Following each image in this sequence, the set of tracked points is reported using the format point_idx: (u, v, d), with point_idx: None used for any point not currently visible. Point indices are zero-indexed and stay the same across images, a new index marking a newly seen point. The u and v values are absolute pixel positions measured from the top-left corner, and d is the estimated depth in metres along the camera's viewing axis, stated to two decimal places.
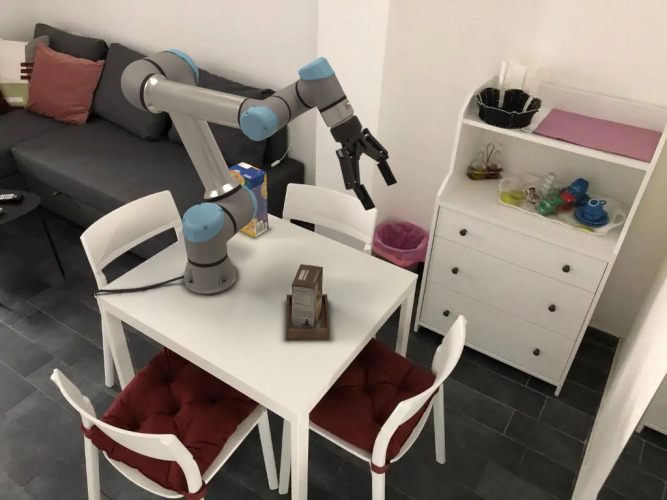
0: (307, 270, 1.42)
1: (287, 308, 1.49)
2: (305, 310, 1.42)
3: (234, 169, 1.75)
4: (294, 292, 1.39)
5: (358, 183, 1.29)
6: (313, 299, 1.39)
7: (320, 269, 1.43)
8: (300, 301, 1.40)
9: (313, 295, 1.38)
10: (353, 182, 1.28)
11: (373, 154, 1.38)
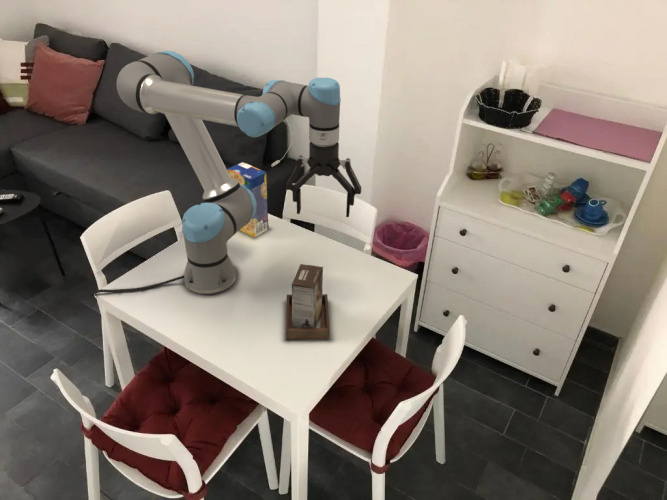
0: (307, 270, 1.42)
1: (287, 308, 1.49)
2: (305, 310, 1.42)
3: (234, 169, 1.75)
4: (294, 292, 1.39)
5: (293, 190, 1.45)
6: (313, 299, 1.39)
7: (320, 269, 1.43)
8: (300, 301, 1.40)
9: (313, 295, 1.38)
10: (288, 186, 1.44)
11: None
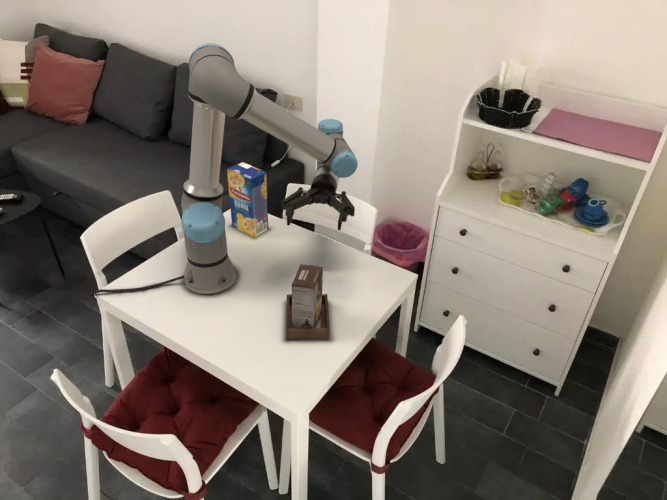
0: (307, 270, 1.42)
1: (287, 308, 1.49)
2: (305, 310, 1.42)
3: (234, 169, 1.75)
4: (294, 292, 1.39)
5: None
6: (313, 299, 1.39)
7: (320, 269, 1.43)
8: (300, 301, 1.40)
9: (313, 295, 1.38)
10: None
11: (302, 204, 1.51)
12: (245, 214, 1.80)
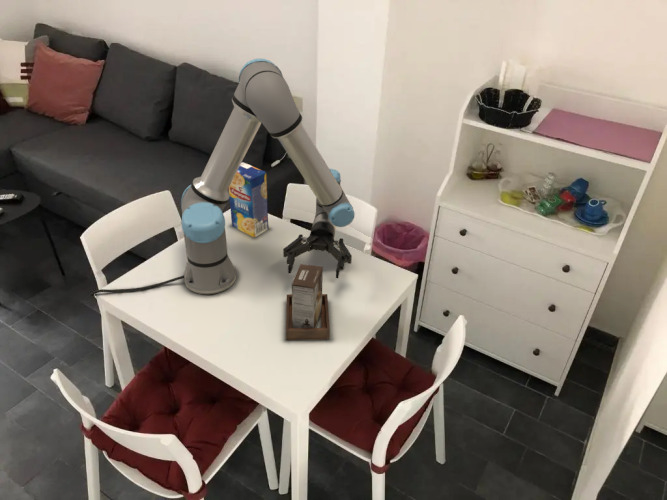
0: (307, 270, 1.42)
1: (287, 308, 1.49)
2: (305, 310, 1.42)
3: None
4: (294, 292, 1.39)
5: None
6: (313, 299, 1.39)
7: (320, 269, 1.43)
8: (300, 301, 1.40)
9: (313, 295, 1.38)
10: None
11: (302, 251, 1.61)
12: (245, 214, 1.80)
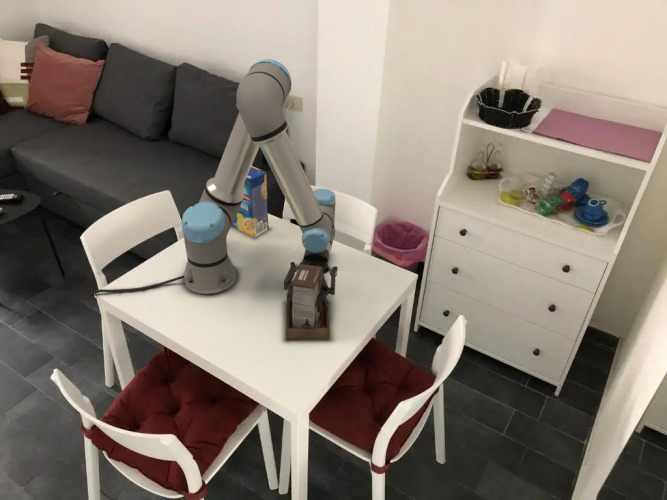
0: (307, 270, 1.42)
1: (287, 308, 1.49)
2: (305, 310, 1.42)
3: None
4: (294, 292, 1.39)
5: None
6: (313, 299, 1.39)
7: (320, 269, 1.43)
8: (300, 301, 1.40)
9: (313, 295, 1.38)
10: None
11: None
12: (245, 214, 1.80)
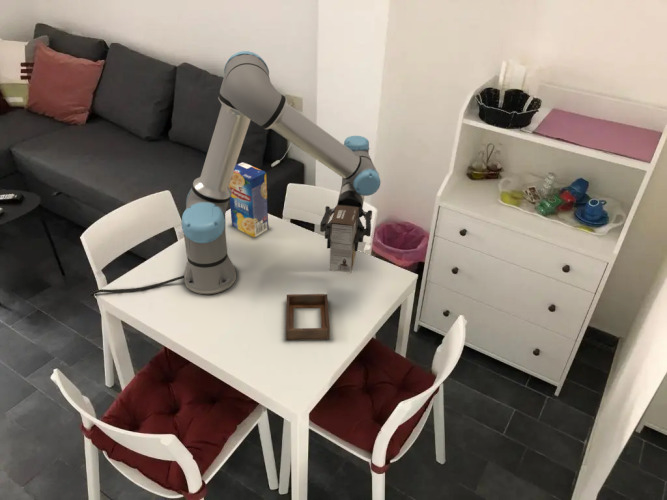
0: (344, 210, 1.44)
1: (287, 308, 1.49)
2: (343, 250, 1.44)
3: (234, 169, 1.75)
4: (332, 230, 1.41)
5: None
6: (352, 237, 1.41)
7: (356, 209, 1.44)
8: (338, 240, 1.42)
9: (352, 233, 1.40)
10: None
11: None
12: (245, 214, 1.80)
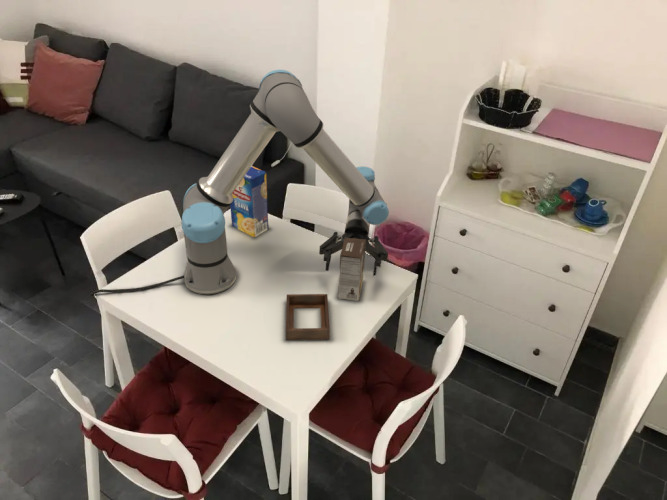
0: (352, 242, 1.54)
1: (287, 308, 1.49)
2: (351, 280, 1.54)
3: None
4: (342, 262, 1.51)
5: None
6: (359, 269, 1.51)
7: (363, 241, 1.54)
8: (347, 271, 1.52)
9: (360, 265, 1.50)
10: None
11: (337, 249, 1.62)
12: (245, 214, 1.80)
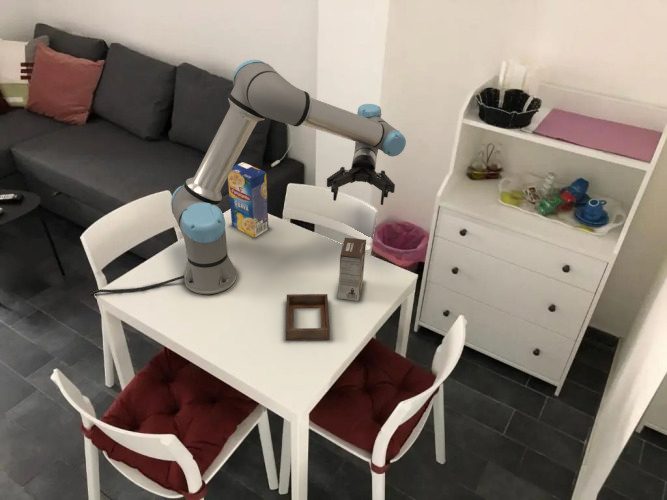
0: (352, 242, 1.54)
1: (287, 308, 1.49)
2: (351, 280, 1.54)
3: (234, 169, 1.75)
4: (342, 262, 1.51)
5: None
6: (360, 269, 1.51)
7: (364, 241, 1.54)
8: (347, 271, 1.52)
9: (360, 265, 1.50)
10: None
11: (345, 182, 1.63)
12: (245, 214, 1.80)
